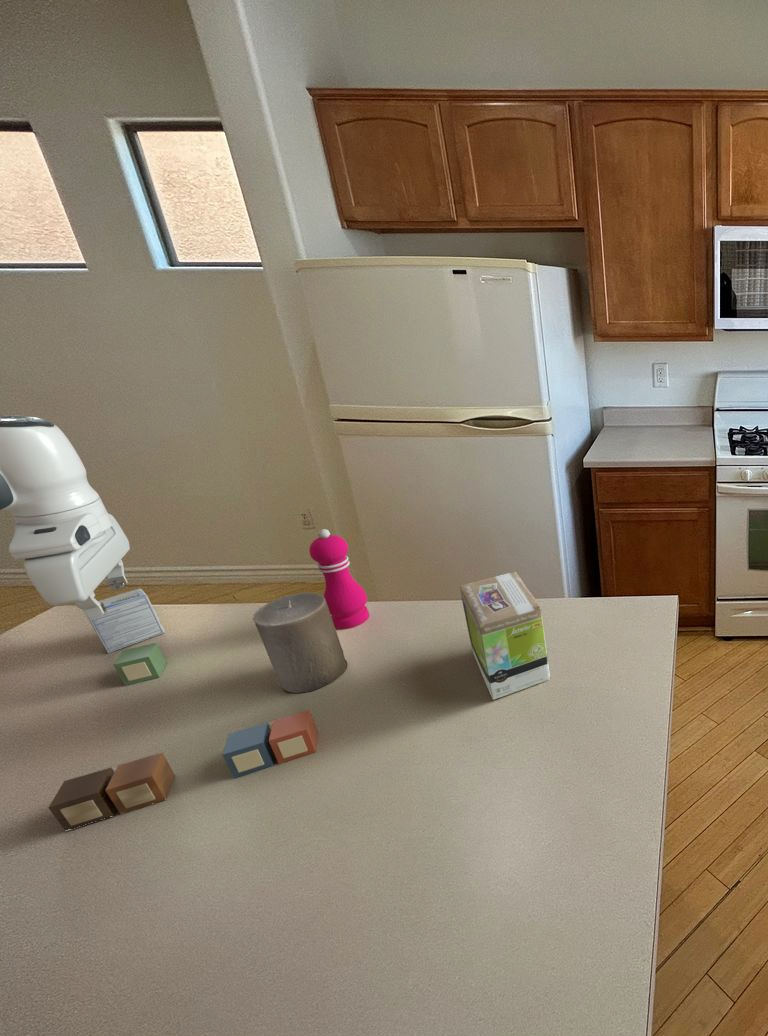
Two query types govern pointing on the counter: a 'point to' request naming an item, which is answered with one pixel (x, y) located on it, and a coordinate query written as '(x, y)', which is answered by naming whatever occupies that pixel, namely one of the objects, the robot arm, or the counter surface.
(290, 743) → the terracotta letter block
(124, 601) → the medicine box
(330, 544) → the pepper mill
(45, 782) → the counter surface
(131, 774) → the teak letter block
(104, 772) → the walnut letter block
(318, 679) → the pillar candle
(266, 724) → the slate blue letter block
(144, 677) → the sage green letter block
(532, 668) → the tea box
